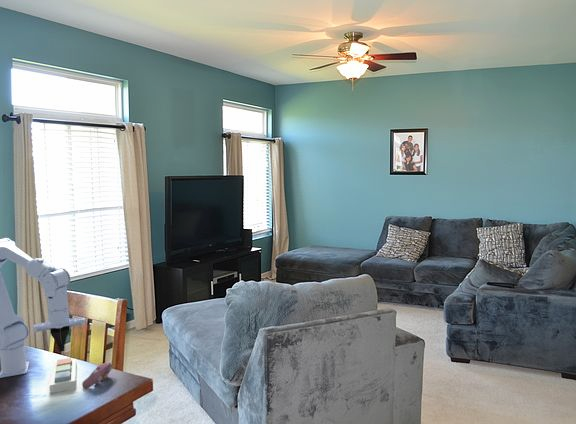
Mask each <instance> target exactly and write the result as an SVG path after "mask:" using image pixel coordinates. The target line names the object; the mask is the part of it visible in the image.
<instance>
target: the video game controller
mask: <svg viewBox="0 0 576 424" xmlns="http://www.w3.org/2000/svg"><path fill="white" fill-rule="evenodd" d="M113 368H114V364H113V363H111V362H108V361H105V362H104V363H100V364H98V365H97V366H96V367H95V369H93V371H92V372H91V374H90V375H89V376H88V377H86V379H84V380H83V381H82V384H81V385H82V387H83V389H88V388H89V389H90V388H91V387H92V386H94V385H96V386H98V385H99V384H100V383H101V381H105V380H106V379H107V376H108V375H109V374H110V372H111V371H112V369H113Z"/></svg>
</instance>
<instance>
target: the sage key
mask: <svg viewBox="0 0 576 424" xmlns="http://www.w3.org/2000/svg"><path fill="white" fill-rule="evenodd" d="M66 371H70V373H71V365H70V364H68V365H62V366H57V368H56V373H60V372H66Z"/></svg>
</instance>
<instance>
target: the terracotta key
mask: <svg viewBox="0 0 576 424" xmlns="http://www.w3.org/2000/svg"><path fill="white" fill-rule="evenodd" d="M71 360H72V358H71V357H68V358H62V359H57V361H56V362H57V366H62V365H68V364H70V365H71Z"/></svg>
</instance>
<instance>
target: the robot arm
mask: <svg viewBox="0 0 576 424" xmlns="http://www.w3.org/2000/svg"><path fill="white" fill-rule="evenodd" d="M8 260H9V261H10V262H12V263H15V264H17V265H18V266H21V267H22V268H25V273H26V274H27V275H28V276H30V277H32V278H33V279H35V280H37V282H39V283H40V285H41V287H42V288H43V290H44V295H45V296H46V299H47V300H46V301H47V310H48V312H47V313H48V321H47V322H46V321H45V322H41V323H38V324H37V323H36V324H33V333H38V332H44V331H45V332H46V331H50V335H51V337H52V338H53V340H54V341H55V343H56V345H57V347H58V352H65V344H66V340H67V337H68V334H69V332H70V327H77V326H81V327H82V326H85V325H86V320H85V317H79V318H78V317H76V318H70V313H69V301H68V300H69V299H68V298H69V297H68V288H67V287H68V285H69V284H70V282H71V276H70V275H71V274H70V273H69V272H68V271H67V270H66V269H65V268H63V267H62V268H61V267H60V268H58V267H56V268H55V266H54V265H50V264H49V263H47V262H46V261H45V259H43V258H41V257H40V258H37V257H36V258H32V257H31V256H30V255H28V254H27V253H25V251H22V250H21V249H20V248H18V247H17V244H16V242H15V241H13V240H11V238H8V237H3V238H0V269H1V268H2V266H3V265H4V264H5V263H6V262H8ZM4 280H5V279H4V277H3V273H2V271H1V270H0V367H1V370H0V379H2V378H8V377H12V376H19V375H23V374H25V375H26V374H27V373H28V370H29V366H30V361H27V357H26V346H25V344H26V343H27V338H29V336H30V329H29V326H28V324H27V323H26V322H25V320H24V318H23V316H21V315H18V314H15V311H14V307H13V305H12V304H13V303H12V301H11V299H10V296H9V291H8V289H7V287H6V283H5V281H4Z"/></svg>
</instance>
